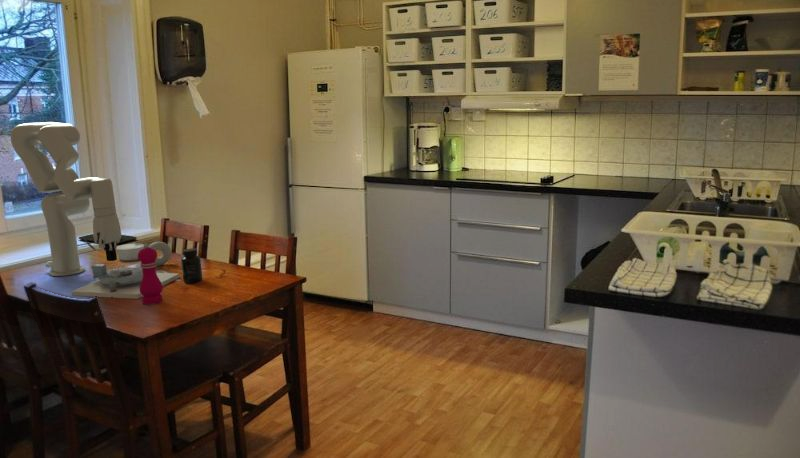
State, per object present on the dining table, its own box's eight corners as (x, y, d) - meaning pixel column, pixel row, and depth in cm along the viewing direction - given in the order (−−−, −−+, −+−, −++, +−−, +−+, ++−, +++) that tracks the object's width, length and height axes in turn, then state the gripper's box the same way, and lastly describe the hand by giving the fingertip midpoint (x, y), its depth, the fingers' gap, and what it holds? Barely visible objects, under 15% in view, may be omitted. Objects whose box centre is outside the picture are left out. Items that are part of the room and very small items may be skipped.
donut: (148, 268, 263) (145, 244, 260) (145, 267, 265) (143, 242, 263) (173, 264, 268) (171, 240, 266) (170, 262, 271) (168, 239, 269)
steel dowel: (109, 292, 227) (107, 282, 226) (112, 290, 229) (111, 280, 228) (114, 292, 227) (112, 282, 226) (117, 290, 229) (116, 280, 228)
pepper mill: (144, 298, 223) (138, 241, 219) (166, 297, 224) (160, 240, 220) (138, 305, 216) (131, 246, 212) (160, 304, 217) (154, 245, 213)
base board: (71, 295, 230) (70, 287, 229) (119, 275, 254) (118, 268, 254) (137, 298, 224) (136, 290, 223) (179, 277, 248) (178, 270, 248)
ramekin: (151, 256, 283) (149, 244, 281) (128, 262, 273) (126, 250, 272) (134, 254, 288) (133, 242, 287) (111, 259, 279) (110, 247, 278)
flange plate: (163, 272, 245) (161, 260, 244) (133, 286, 228) (132, 273, 227) (111, 270, 250) (110, 258, 249) (78, 284, 233) (77, 271, 232)
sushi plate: (140, 241, 316) (139, 233, 315) (81, 255, 291) (80, 246, 290) (103, 235, 331) (102, 228, 330) (44, 248, 307) (43, 240, 306)
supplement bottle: (206, 279, 245) (203, 248, 242) (195, 284, 239) (192, 252, 236) (190, 278, 247) (187, 247, 245) (179, 283, 241) (176, 251, 238)
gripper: (109, 208, 250) (116, 255, 254) (82, 215, 236) (89, 265, 240) (126, 208, 249) (133, 255, 252) (100, 215, 234) (107, 265, 238)
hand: (112, 260), depth 246 cm, fingers closed
